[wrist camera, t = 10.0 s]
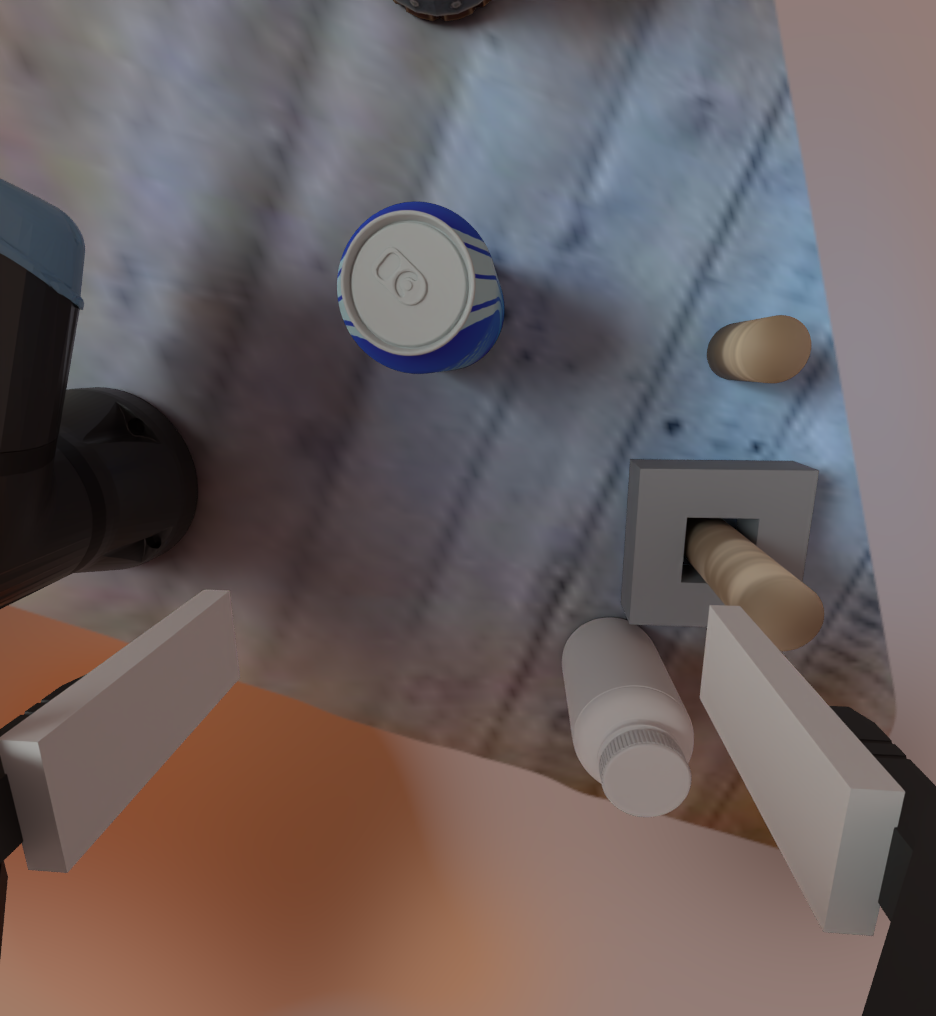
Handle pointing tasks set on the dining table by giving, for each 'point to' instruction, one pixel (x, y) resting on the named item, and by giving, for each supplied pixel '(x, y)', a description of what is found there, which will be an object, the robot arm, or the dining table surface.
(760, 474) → the socket block
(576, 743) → the pill bottle
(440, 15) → the mug
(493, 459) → the dining table surface
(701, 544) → the tall dowel
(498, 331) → the beer can
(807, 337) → the short dowel
